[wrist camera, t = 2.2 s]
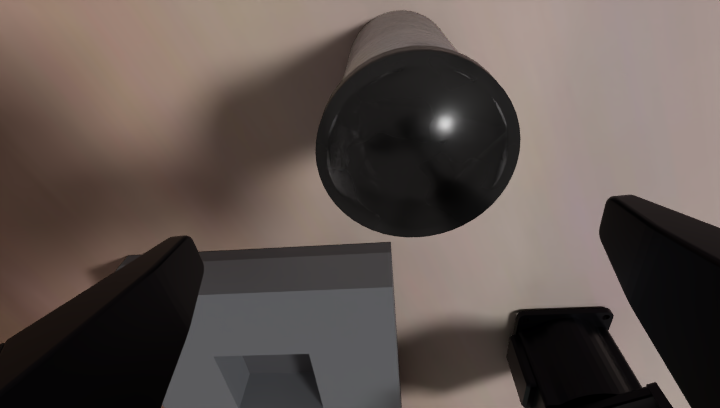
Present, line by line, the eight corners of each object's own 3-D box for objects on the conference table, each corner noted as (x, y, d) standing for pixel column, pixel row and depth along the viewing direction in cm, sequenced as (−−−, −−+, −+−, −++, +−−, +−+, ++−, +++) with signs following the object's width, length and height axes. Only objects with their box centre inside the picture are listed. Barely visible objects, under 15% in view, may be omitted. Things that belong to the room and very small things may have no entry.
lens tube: (459, -4, 17) (534, 41, 9) (454, 116, 20) (508, 232, 12) (335, 9, 18) (298, 63, 10) (349, 124, 21) (330, 241, 13)
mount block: (390, 242, 25) (392, 287, 22) (401, 398, 35) (403, 446, 32) (128, 255, 27) (92, 299, 23) (208, 401, 37) (191, 447, 33)
